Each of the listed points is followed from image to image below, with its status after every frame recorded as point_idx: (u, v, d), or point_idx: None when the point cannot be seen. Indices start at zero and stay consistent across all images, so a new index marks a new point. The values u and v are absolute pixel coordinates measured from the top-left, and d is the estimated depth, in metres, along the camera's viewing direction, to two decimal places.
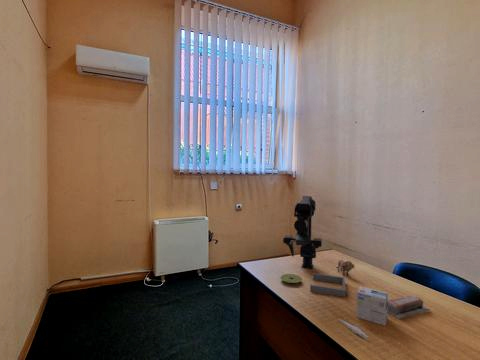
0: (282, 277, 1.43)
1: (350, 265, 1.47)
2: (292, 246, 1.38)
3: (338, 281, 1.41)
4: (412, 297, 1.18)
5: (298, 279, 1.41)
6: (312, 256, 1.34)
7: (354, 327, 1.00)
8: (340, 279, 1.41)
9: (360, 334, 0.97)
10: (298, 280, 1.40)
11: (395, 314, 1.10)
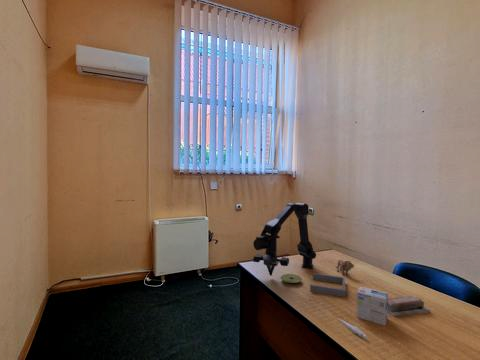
0: (282, 277, 1.43)
1: (349, 265, 1.47)
2: (270, 265, 1.46)
3: (338, 281, 1.41)
4: (413, 297, 1.17)
5: (298, 279, 1.41)
6: (271, 273, 1.45)
7: (353, 327, 1.00)
8: (340, 279, 1.41)
9: (359, 334, 0.96)
10: (298, 280, 1.40)
11: (390, 311, 1.11)
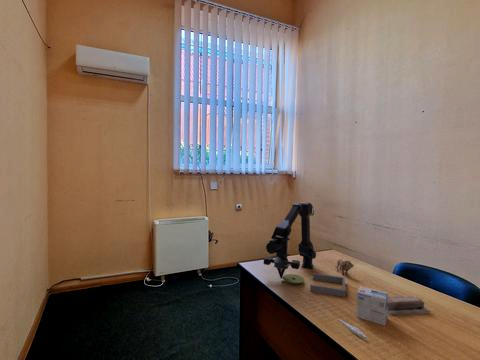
0: (284, 277, 1.43)
1: (349, 264, 1.48)
2: (280, 268, 1.44)
3: (338, 281, 1.41)
4: (414, 297, 1.17)
5: (301, 279, 1.41)
6: (282, 276, 1.43)
7: (353, 327, 1.00)
8: (340, 279, 1.41)
9: (359, 334, 0.96)
10: (300, 280, 1.39)
11: (387, 310, 1.13)
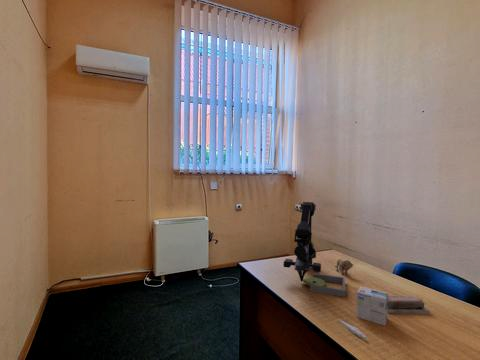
0: (305, 280, 1.39)
1: (349, 264, 1.48)
2: (301, 271, 1.40)
3: (338, 281, 1.41)
4: (414, 298, 1.17)
5: (322, 282, 1.37)
6: (302, 279, 1.39)
7: (353, 327, 1.00)
8: (340, 279, 1.41)
9: (359, 334, 0.96)
10: (322, 284, 1.35)
11: None
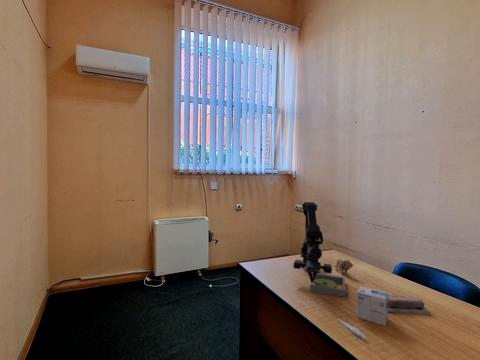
0: (315, 282, 1.37)
1: (349, 264, 1.48)
2: (311, 272, 1.38)
3: (338, 281, 1.41)
4: (414, 298, 1.17)
5: (333, 284, 1.35)
6: (313, 280, 1.38)
7: (352, 327, 0.99)
8: (340, 279, 1.41)
9: (358, 335, 0.96)
10: (333, 285, 1.34)
11: None
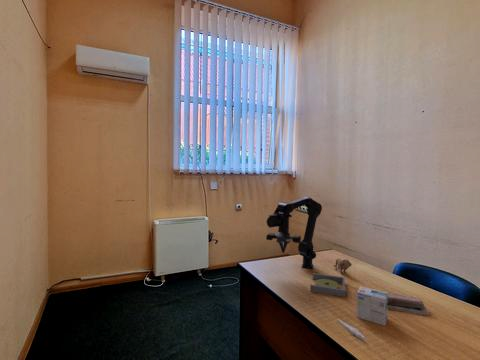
0: (317, 282, 1.37)
1: (347, 263, 1.49)
2: (282, 243, 1.52)
3: (338, 281, 1.41)
4: (416, 299, 1.16)
5: (335, 284, 1.35)
6: (284, 250, 1.51)
7: (352, 328, 0.99)
8: (340, 279, 1.41)
9: (357, 335, 0.96)
10: (335, 286, 1.33)
11: None
